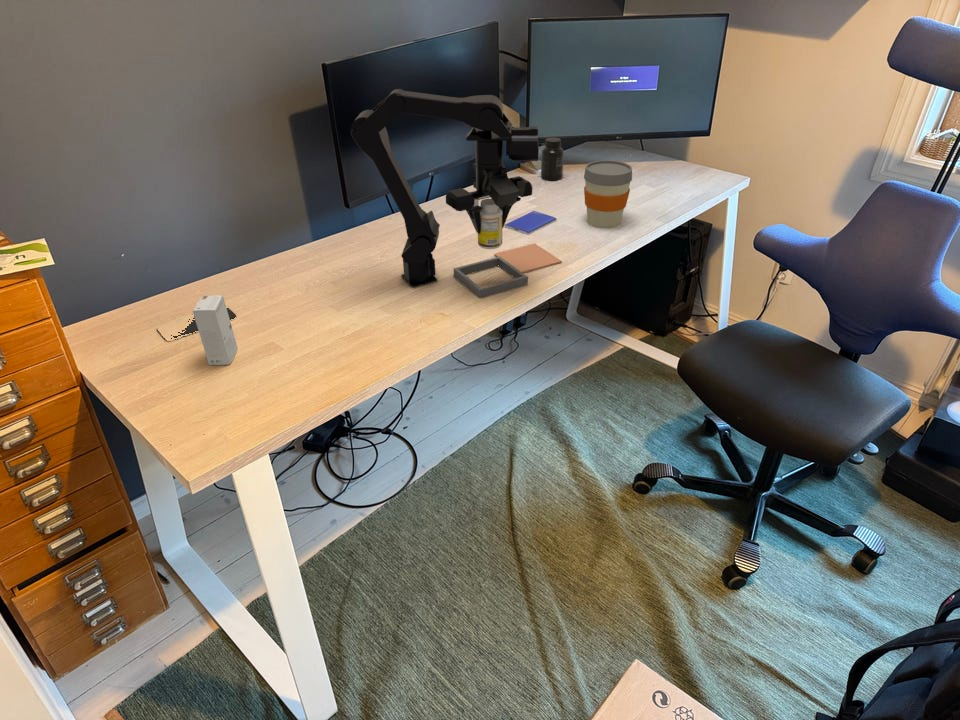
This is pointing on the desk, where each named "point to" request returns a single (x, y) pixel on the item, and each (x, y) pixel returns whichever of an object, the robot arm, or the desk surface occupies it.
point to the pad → (529, 258)
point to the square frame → (496, 288)
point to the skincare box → (215, 330)
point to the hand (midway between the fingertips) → (489, 230)
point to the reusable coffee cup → (606, 192)
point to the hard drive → (530, 222)
